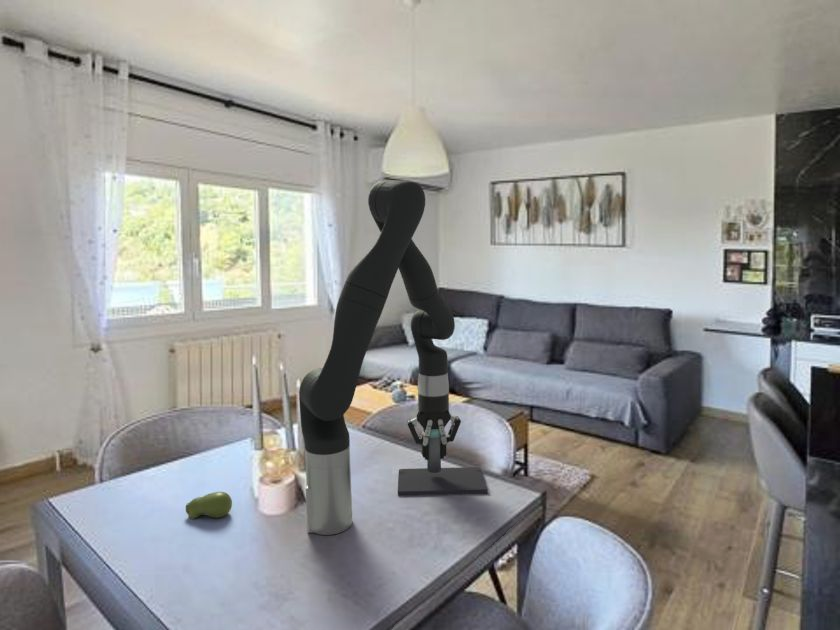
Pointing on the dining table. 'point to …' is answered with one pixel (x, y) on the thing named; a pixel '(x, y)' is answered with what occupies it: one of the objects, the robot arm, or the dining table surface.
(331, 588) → the dining table surface
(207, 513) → the pear
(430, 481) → the notebook
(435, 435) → the marker
